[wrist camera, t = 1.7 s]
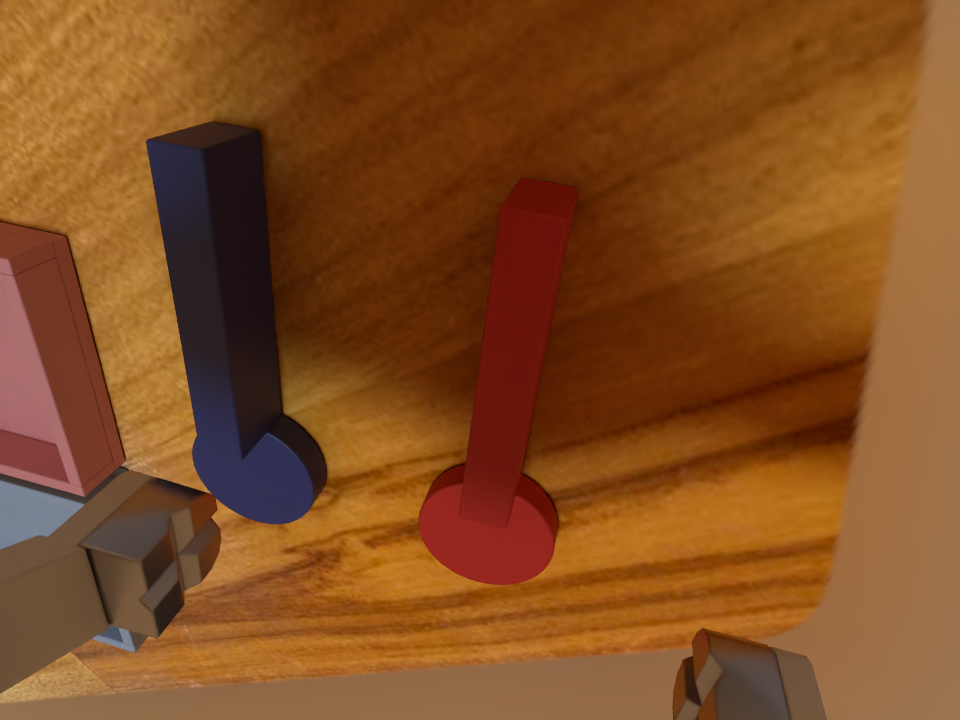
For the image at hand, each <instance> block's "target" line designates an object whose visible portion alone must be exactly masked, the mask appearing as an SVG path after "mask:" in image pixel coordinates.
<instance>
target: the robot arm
mask: <svg viewBox="0 0 960 720" xmlns="http://www.w3.org/2000/svg"><path fill="white" fill-rule="evenodd" d="M216 511H217V504H216V499H215V495H212V494H209V493H206V492H203V491H200V490H196V489H193V488H190V487H187V486H183V485H180V484H177V483H174V482H170V481H167V480H164V479H161V478H157V477H153V476H150V475H147V474H143V473H140V472H136V471H133V470H130V471H127V472H125V473H122V474H120V475H119V476H117V477H116V478H115V479H114V480H113V481H112V482H110V483H109V484H108V485H107V486H106V487H105V488H104V489H102V490H101V491H100V492H99V493H98V494H97V495H95V496H94V497H93V498H92V499H91V500H90V501H89V502H87V503H86V504H85V505H84V506H83V507H82V508H80V509H79V510H78V511H77V512H76V513H75V514H74V515H72V516H71V517H70V518H69V519H68V520H67V521H65V522H64V523H63V524H62V525H61V526H60V527H59V528H57V529H56V530H55V531H54V532H53V533H52V534H50V535H49V536H48V537H46V536H42V535H38V536H35V537H32V538H30V539H27V540H24V541H22V542H19V543H16V544H14V545H11V546H8V547H5V548H3V549H0V693H2V692H4V691H5V690H7V689H9V688H10V687H12V686H14V685H15V684H17V683H19V682H20V681H22V680H24V679H26V678H27V677H29V676H31V675H32V674H34V673H36V672H37V671H39V670H41V669H42V668H44V667H46V666H47V665H49V664H51V663H52V662H54V661H56V660H57V659H59V658H61V657H62V656H64V655H66V654H67V653H69V652H71V651H72V650H74V649H76V648H77V647H79V646H81V645H82V644H84V643H86V642H87V641H89V640H91V639H92V638H94V637H96V636H97V635H99V634H101V633H102V632H104V631H106V630H107V629H109V625H111V626H114V627H118V628H121V629H125V630H129V631H132V632H136V633H139V634H143V635H146V636H150V637H154V638H158V637H159V636H160V635H161V633H162V632H163V631H164V629H165V628H166V627H167V626H168V624H169V623H170V622H171V621H172V619H173V618H174V617H175V616H176V614H177V613H178V612H179V610H180V609H181V608H182V607H183V605H184V591H185V590H187V589H189V588H191V587H193V586H195V585H197V584H199V583H201V582H202V581H203V580H204V578H205V577H206V576H207V574H208V573H209V572H210V570H211V569H212V567H213V565H214V562H215V560H216V558H217V556H218V554H219V551H220V544H221V532H220V528H219V527H218V525H217V524H216V523H215V521H214V520H213V519H212V518H211V517H212V516H213V514H214V513H215V512H216ZM692 648H693V656H691V657H688V658H686V659H684V660H683V661H682V664H681V666H680V668H679V671H678V673H677V676H676V681H675V686H674V691H673V692H674V693H673V720H827V718H826V714H825V710H824V707H823V703H822V700H821V696H820V692H819V688H818V685H817V681H816V678H815V674H814V671H813V667H812V664H811V662H810V661H809V660H808V658H807V657H806V656H803V655H800V654H796V653H792V652H789V651H785V650H781V649H778V648H774V647H769V646H768V645H765V644H762V643H758V642H754V641H750V640H746V639H743V638H739V637H735V636H731V635H727V634H724V633H720V632H716V631H712V630H708V629H704V628H702V629H701V630H699V631H698V632H697V633H696V635H695V637H694V639H693V641H692Z"/></svg>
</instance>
